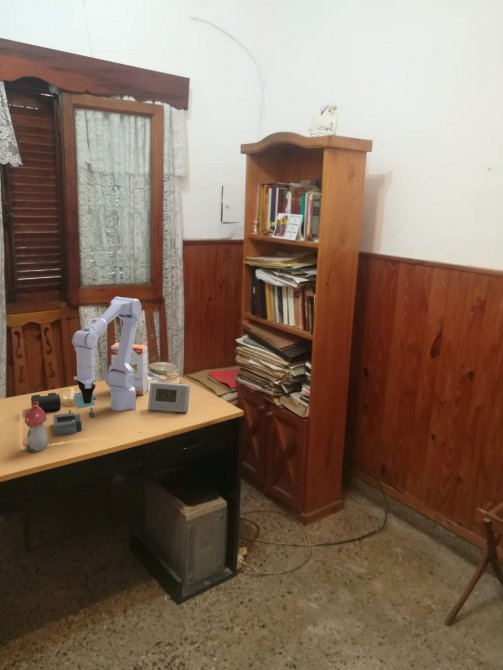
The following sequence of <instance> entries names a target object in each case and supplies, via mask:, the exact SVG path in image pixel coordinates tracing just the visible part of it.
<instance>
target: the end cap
mask: <svg viewBox="0 0 503 670" xmlns="http://www.w3.org/2000/svg"><path fill="white" fill-rule="evenodd" d="M33 401H38V402H39V405H38V406H39V407H40V408H41V409H42V410H43V411H44V412H45V413H46V412H52V411H60V410H61V408H62V403H61V397H60V394H59V393H58V394H57V393H56V392H49V393H47V395H41V394H34V395H33V394H32V395H31V397H30V403H31V405H30V406H31V408H32V407H33V406H32V402H33Z"/></svg>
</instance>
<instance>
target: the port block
mask: <svg viewBox="0 0 503 670" xmlns="http://www.w3.org/2000/svg"><path fill="white" fill-rule="evenodd" d="M52 416H53V417H52V418H53V420H52V421H53V431H54V436H55V437H56V436H57V437H58V436H64V435H73V434H77V433H78V432H81V431H83V427H82V426H83V424H82V423H83V422H82V420H81V414H80V413H77V414H75V413H74V412H71V413H69V412H66V413H60V414H58V413H57V414H53V415H52Z"/></svg>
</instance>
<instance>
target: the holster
mask: <svg viewBox="0 0 503 670" xmlns="http://www.w3.org/2000/svg"><path fill="white" fill-rule="evenodd" d="M89 410H90V411H89V412H90V415H91V418H95V412H94V411H95V410H94V408H93V407H90V408H89ZM68 413H72V410H71V409H68Z"/></svg>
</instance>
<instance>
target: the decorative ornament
mask: <svg viewBox="0 0 503 670" xmlns="http://www.w3.org/2000/svg"><path fill="white" fill-rule="evenodd" d="M38 405H39V402H38V401H33V402H32V406H33V407H32V406H31V407H30V409H29V410H28V411H27V412H26V413H25V416H24V423H25V424H26V426H27V427H29V428H28V431H27V435H26V443H25V446H24V447H25V448H24V449H25V450H26V451H27V452H29V453H38V452H40V451H42V450H45V449H46V447H47V445H48V441H49V437H48V436H49V435H48V433H47V429H46V427H45V425H44V423H45V422H46V421H47V419H48V417H47V414H46V412H44V411H43V410H42V409H41V408H40V407H39V406H38Z"/></svg>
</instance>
